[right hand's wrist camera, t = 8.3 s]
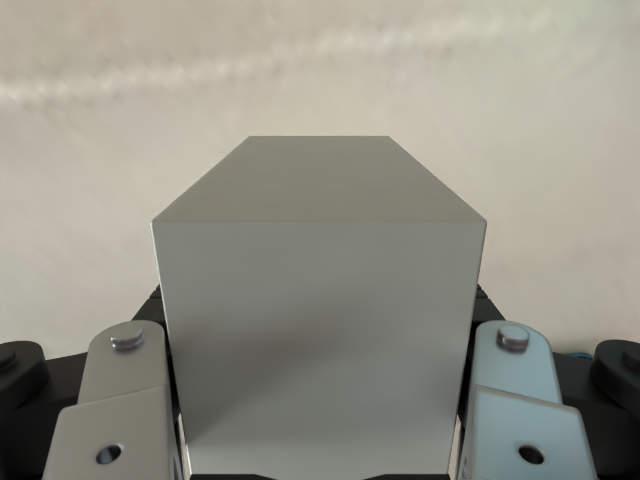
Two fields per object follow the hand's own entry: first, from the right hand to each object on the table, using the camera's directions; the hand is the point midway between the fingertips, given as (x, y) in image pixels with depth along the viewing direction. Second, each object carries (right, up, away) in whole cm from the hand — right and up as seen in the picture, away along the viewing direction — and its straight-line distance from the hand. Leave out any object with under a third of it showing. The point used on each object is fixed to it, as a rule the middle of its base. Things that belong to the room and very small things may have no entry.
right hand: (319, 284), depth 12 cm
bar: (0, -7, +8) cm, 10 cm away
